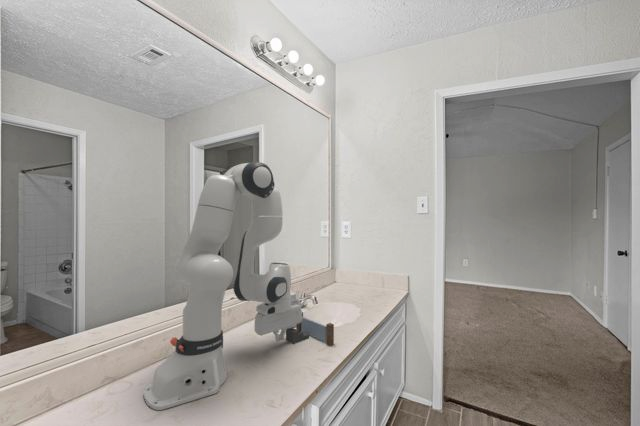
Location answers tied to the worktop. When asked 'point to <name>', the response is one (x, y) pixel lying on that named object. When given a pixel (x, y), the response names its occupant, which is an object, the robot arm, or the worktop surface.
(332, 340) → the door frame
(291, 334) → the doorstop wedge
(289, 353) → the worktop surface
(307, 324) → the door
